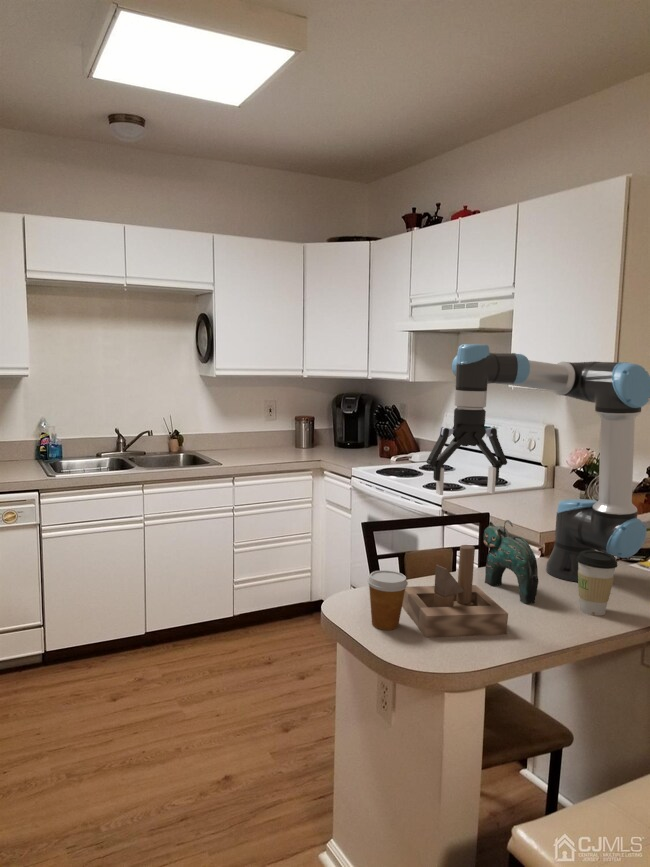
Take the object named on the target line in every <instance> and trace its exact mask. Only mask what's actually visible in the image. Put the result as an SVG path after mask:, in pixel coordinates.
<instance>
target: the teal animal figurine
mask: <svg viewBox="0 0 650 867" xmlns="http://www.w3.org/2000/svg"><path fill="white" fill-rule="evenodd" d="M507 522H508V523H509V524H510V525H511V527H514V526H513V524H512V521H510V520H509V519H506V520H505V521H504V523H503V524H504V525H503V526H501V525H500V526H499V525H498V526H497V525H495V524H494V523H493V522H492V521H489V524H488V526H487V527H486V528H485V529H484V532H483V543H484V545H485V546H486V547H487V548H488V553H487V558H486V565H485V568H484V569H485V577H484V583H485V584H487V585H489V586H490V587H491V586H492V587H497V586H502V583H503V580H502V579H503V575H504V573H505V571H506V569H508V570H510V571H512V572H513V574H514V576H515V577H516V579H517V583H518V591H519V592H518V594H519V602H521V603H523V604H525V605H531V604H535V601H536V598H537V594H538V593H537V592H538V586H539V576H538V562H537V558H536V555H535V553H534V551H533V549H532V548H531V545H530V544H529V543H528V542H527V541H526V540H525V539H523V537H520V536H511V535H510V532H509V530H507V528H505V527H506V523H507Z"/></svg>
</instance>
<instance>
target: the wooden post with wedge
mask: <svg viewBox="0 0 650 867" xmlns="http://www.w3.org/2000/svg"><path fill="white" fill-rule="evenodd" d="M475 551H476V548H475V546H474V545H471V544H461V545H460V546H459V557H458V560H459V561H458V571H457V572H458V574H457V580H456V579H455V577H454V576H453V575H452V574H451V572H450V571H449V570H448V569H447V568H446V567H443V566H440V565H439V564H436V565H435V574H434V586H435V587H434V592H435V594H434V607H461V606H474V604H473V603H472V602H471V596H472V585H473V582H474V581H473V579H474V566H475V565H474V564H475V554H476V553H475ZM454 594H457V599H456V600H457V601H454Z"/></svg>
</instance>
